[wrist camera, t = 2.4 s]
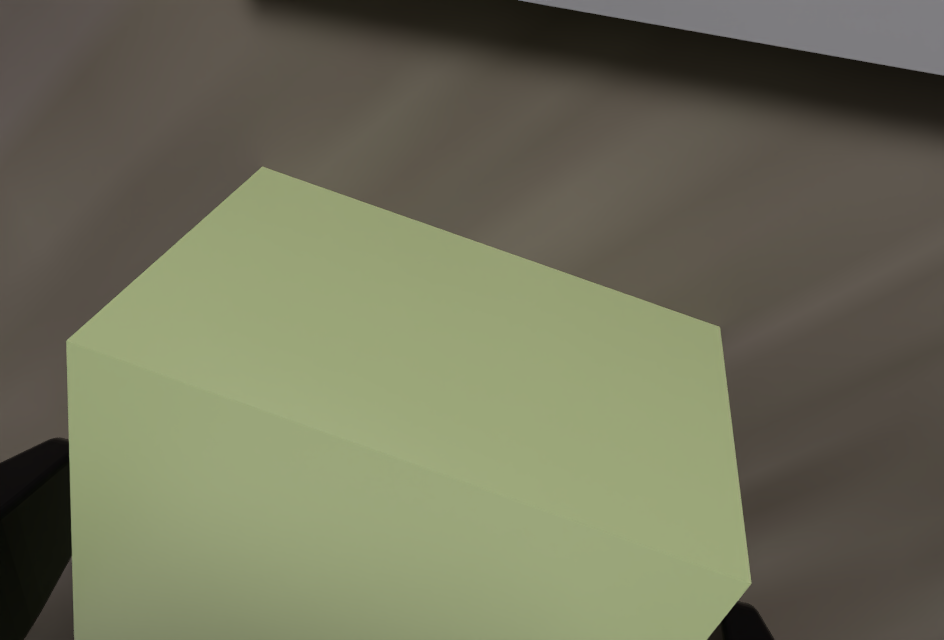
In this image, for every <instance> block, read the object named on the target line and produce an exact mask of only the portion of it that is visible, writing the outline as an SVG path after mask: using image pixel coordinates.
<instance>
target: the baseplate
mask: <svg viewBox="0 0 944 640" xmlns="http://www.w3.org/2000/svg"><path fill="white" fill-rule="evenodd" d="M520 1H525V2H531V3H537V4H542V5H548V6H553V7H559V8H565V9H570V10H576V11H582V12H587V13H593V14H599V15H604V16H610V17H616V18H621V19H627V20H633V21H638V22H644V23H650V24H655V25H661V26H667V27H672V28H678V29H684V30H689V31H695V32H701V33H706V34H712V35H718V36H723V37H729V38H735V39H740V40H746V41H752V42H757V43H763V44H769V45H774V46H780V47H785V48H791V49H797V50H802V51H808V52H814V53H819V54H825V55H831V56H836V57H842V58H848V59H853V60H859V61H865V62H870V63H876V64H882V65H887V66H893V67H899V68H904V69H910V70H916V71H921V72H927V73H933V74H938V75H944V0H520Z"/></svg>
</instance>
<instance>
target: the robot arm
mask: <svg viewBox="0 0 944 640" xmlns="http://www.w3.org/2000/svg"><path fill="white" fill-rule="evenodd" d="M71 556H72V537H71V499H70V461H69V439H65V438H53V439H50V440H47V441H45V442H43V443H41V444H39V445H37V446H35V447H32V448H30V449H28V450H26V451H24V452H22V453H20V454H18V455H16V456H14V457H12V458H9V459H7V460H5V461H3V462H1V463H0V640H24V638H25V637H26V635H27V634H28V632H29V630H30V629H31V627H32V626H33V624H34V623H35V621H36V619H37V618H38V616H39V614H40V612H41V611H42V609H43V607H44V606H45V604H46V602H47V600H48V598H49V596H50V595H51V593H52V591H53V589H54V587H55V585H56V584H57V582H58V580H59V578H60V576H61V574H62V573H63V571H64V569H65V567H66V565H67V564H68V562H69V560H70V558H71ZM707 640H774V638H773V636H772V634H771V633H770V631H769V629H768V628H767V626H766V624H765V623H764V621H763V619H762V617H761V616H760V614H759V612H758V611H757V610H756V609H755V608H754V607H753V606H752V605H750V604H748V603H744V602H740V601H737V602H736V604H735V605H734V606H733V607H732V609H731V610H730V611H729V612H728V614H727V615H726V616H725V617H724V619H723V620H722V621H721V623H720V624H719V625H718V626H717V628H716V629H715V630H714V631H713V633H712V634H711V635H710V636H709V638H708V639H707Z"/></svg>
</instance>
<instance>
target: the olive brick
mask: <svg viewBox="0 0 944 640" xmlns="http://www.w3.org/2000/svg"><path fill="white" fill-rule="evenodd" d="M66 346H67V384H68V423H69V461H70V499H71V537H72V576H73V614H74V640H707V639H708V638H709V636H710V635H711V634H712V633H713V631H714V630H715V629H716V628H717V626H718V625H719V624H720V623H721V621H722V620H723V619H724V617H725V616H726V615H727V614H728V612H729V611H730V610H731V609H732V607H733V606H734V605H735V604H736V602H737V601H738V600H739V599H740V597H741V596H742V595H743V593H744V592H745V591H746V590H747V588H748V587H749V586H750V585H751V576H750V568H749V560H748V552H747V544H746V535H745V527H744V519H743V511H742V503H741V495H740V487H739V478H738V470H737V462H736V454H735V446H734V438H733V430H732V421H731V413H730V405H729V397H728V389H727V381H726V373H725V364H724V356H723V348H722V340H721V332H720V327H718V326H715V325H713V324H710V323H707V322H704V321H701V320H698V319H695V318H693V317H690V316H687V315H684V314H681V313H678V312H675V311H673V310H670V309H667V308H664V307H661V306H658V305H655V304H653V303H650V302H647V301H644V300H641V299H638V298H635V297H633V296H630V295H627V294H624V293H621V292H618V291H615V290H613V289H610V288H607V287H604V286H601V285H598V284H596V283H593V282H590V281H587V280H584V279H581V278H578V277H576V276H573V275H570V274H567V273H564V272H561V271H558V270H556V269H553V268H550V267H547V266H544V265H541V264H538V263H536V262H533V261H530V260H527V259H524V258H521V257H518V256H516V255H513V254H510V253H507V252H504V251H501V250H498V249H496V248H493V247H490V246H487V245H484V244H481V243H479V242H476V241H473V240H470V239H467V238H464V237H461V236H459V235H456V234H453V233H450V232H447V231H444V230H441V229H439V228H436V227H433V226H430V225H427V224H424V223H421V222H419V221H416V220H413V219H410V218H407V217H404V216H401V215H399V214H396V213H393V212H390V211H387V210H384V209H381V208H379V207H376V206H373V205H370V204H367V203H364V202H362V201H359V200H356V199H353V198H350V197H347V196H344V195H342V194H339V193H336V192H333V191H330V190H327V189H324V188H322V187H319V186H316V185H313V184H310V183H307V182H304V181H302V180H299V179H296V178H293V177H290V176H287V175H284V174H282V173H279V172H276V171H273V170H270V169H267V168H264V167H261V168H260V169H259V170H258V171H257V172H256V173H255V174H254V175H252V176H251V177H250V178H249V179H248V180H247V181H246V182H245V183H243V184H242V185H241V186H240V187H239V188H238V189H237V190H236V191H234V192H233V193H232V194H231V195H230V196H229V197H228V198H227V199H225V200H224V201H223V202H222V203H221V204H220V205H219V206H218V207H216V208H215V209H214V210H213V211H212V212H211V213H210V214H209V215H207V216H206V217H205V218H204V219H203V220H202V221H201V222H200V223H198V224H197V225H196V226H195V227H194V228H193V229H192V230H191V231H189V232H188V233H187V234H186V235H185V236H184V237H183V238H182V239H180V240H179V241H178V242H177V243H176V244H175V245H174V246H173V247H171V248H170V249H169V250H168V251H167V252H166V253H165V254H163V255H162V256H161V257H160V258H159V259H158V260H157V261H156V262H154V263H153V264H152V265H151V266H150V267H149V268H148V269H147V270H145V271H144V272H143V273H142V274H141V275H140V276H139V277H138V278H136V279H135V280H134V281H133V282H132V283H131V284H130V285H129V286H127V287H126V288H125V289H124V290H123V291H122V292H121V293H120V294H118V295H117V296H116V297H115V298H114V299H113V300H112V301H111V302H109V303H108V304H107V305H106V306H105V307H104V308H103V309H102V310H100V311H99V312H98V313H97V314H96V315H95V316H94V317H93V318H91V319H90V320H89V321H88V322H87V323H86V324H85V325H84V326H82V327H81V328H80V329H79V330H78V331H77V332H76V333H75V334H73V335H72V336H71V337H70V338H69V339H68V340H67V341H66Z"/></svg>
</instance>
